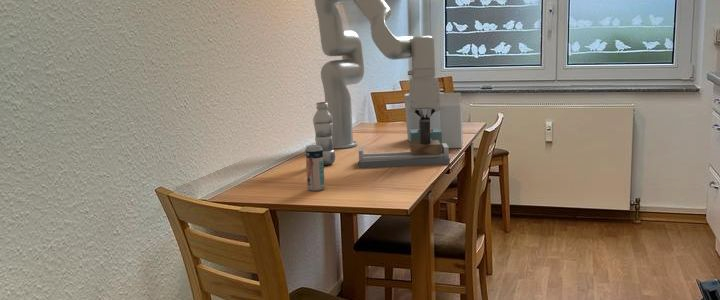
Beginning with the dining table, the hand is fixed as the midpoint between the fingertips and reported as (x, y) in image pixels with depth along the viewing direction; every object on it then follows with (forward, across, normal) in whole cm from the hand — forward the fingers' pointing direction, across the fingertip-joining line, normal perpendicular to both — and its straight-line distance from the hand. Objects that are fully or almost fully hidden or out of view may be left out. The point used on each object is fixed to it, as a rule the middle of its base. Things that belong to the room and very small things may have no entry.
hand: (425, 129), depth 236 cm
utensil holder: (+9, +2, +32) cm, 33 cm away
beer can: (+9, -33, -47) cm, 58 cm away
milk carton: (+9, +10, +13) cm, 19 cm away
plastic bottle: (+9, -33, -11) cm, 36 cm away
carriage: (+6, -1, -13) cm, 14 cm away
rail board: (+9, -8, -13) cm, 17 cm away
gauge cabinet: (+9, 0, 0) cm, 9 cm away
